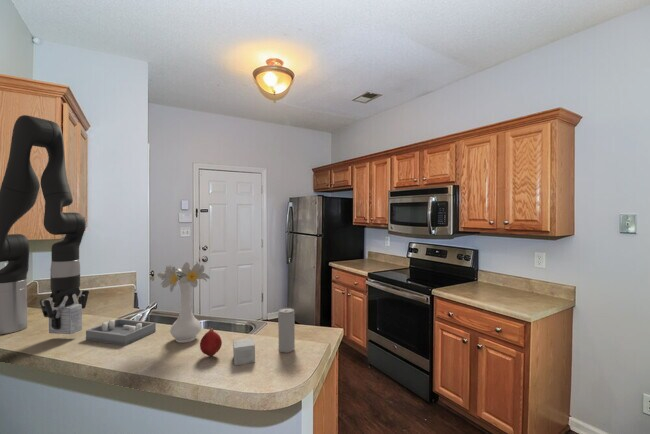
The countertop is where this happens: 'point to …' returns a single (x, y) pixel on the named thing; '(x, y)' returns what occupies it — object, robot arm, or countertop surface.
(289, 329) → the beverage can
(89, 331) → the tray
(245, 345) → the small box
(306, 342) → the countertop surface
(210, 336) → the onion
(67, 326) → the medicine box
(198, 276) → the flower vase
